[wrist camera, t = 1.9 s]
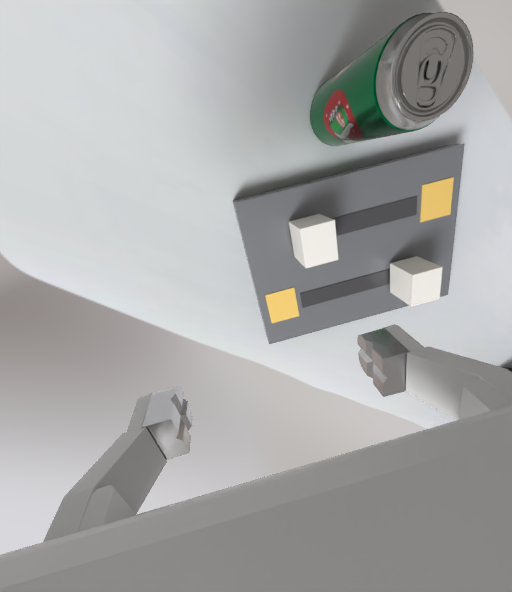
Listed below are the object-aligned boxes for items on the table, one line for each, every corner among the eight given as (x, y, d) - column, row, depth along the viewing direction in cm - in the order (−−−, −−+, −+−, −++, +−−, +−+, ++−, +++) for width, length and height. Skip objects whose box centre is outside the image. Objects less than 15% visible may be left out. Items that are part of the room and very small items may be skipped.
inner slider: (288, 221, 25) (299, 229, 22) (319, 213, 25) (334, 219, 22) (294, 256, 27) (305, 268, 24) (323, 248, 27) (338, 259, 24)
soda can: (366, 80, 23) (496, 4, 13) (357, 146, 26) (462, 129, 15) (310, 78, 23) (397, -4, 12) (305, 146, 25) (376, 128, 14)
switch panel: (232, 200, 26) (234, 203, 24) (447, 145, 27) (465, 143, 25) (266, 334, 33) (269, 344, 31) (435, 288, 34) (448, 294, 32)
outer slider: (390, 263, 29) (412, 275, 25) (416, 256, 29) (442, 266, 25) (390, 292, 30) (411, 306, 27) (415, 285, 30) (439, 298, 27)
